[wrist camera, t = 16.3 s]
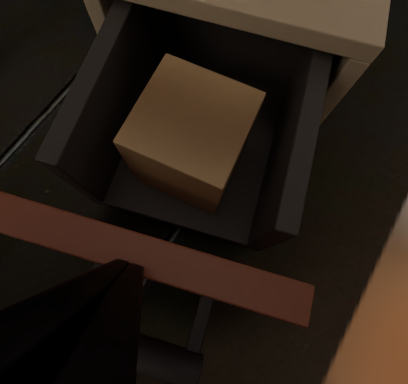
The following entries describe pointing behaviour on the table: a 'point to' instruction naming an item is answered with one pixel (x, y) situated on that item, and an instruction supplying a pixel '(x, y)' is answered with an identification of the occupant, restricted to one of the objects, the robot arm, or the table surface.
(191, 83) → the block
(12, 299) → the table surface
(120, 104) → the drawer
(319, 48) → the cabinet
